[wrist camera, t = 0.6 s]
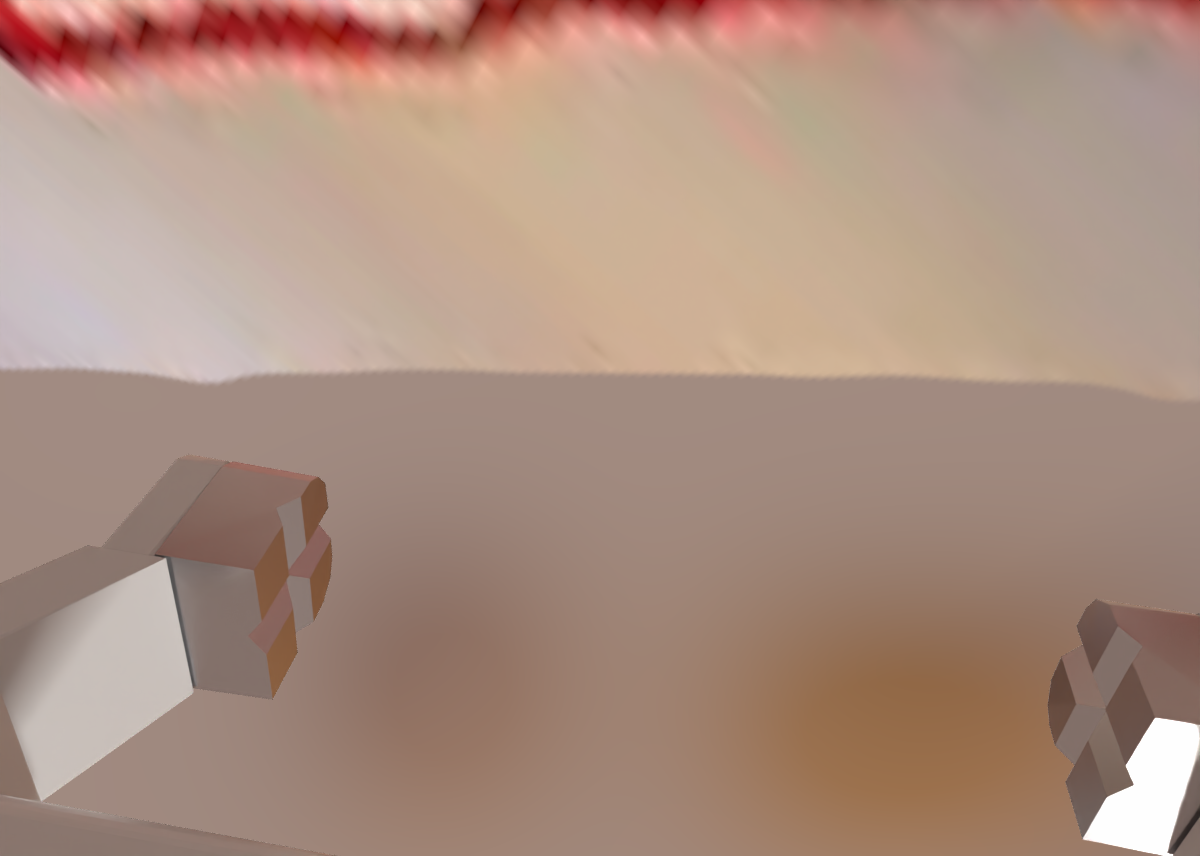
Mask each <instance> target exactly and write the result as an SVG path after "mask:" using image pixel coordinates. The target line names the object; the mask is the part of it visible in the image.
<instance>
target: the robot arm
mask: <svg viewBox="0 0 1200 856" xmlns="http://www.w3.org/2000/svg"><path fill="white" fill-rule="evenodd" d="M327 509H328V501H327V492H326V485H325V482H323V481H322V480H321V479H320V478H319V477H316V476H310V475H305V474H299V473H294V472H288V471H283V470H277V469H272V468H266V467H260V466H255V465H250V464H244V463H238V462H228V461H223V460H218V459H212V458H206V457H200V456H194V455H186V456H183V457H181V458H178V459H177V460H176V461H174V462H173V464H172V465H171V466H170V467H169V468H168V470H167V471H166V472H165V473H164V474H163V476H162V477H161V478H160V479H159V480H158V481H157V483H156V484H155V485H154V486H153V487H152V488H151V490H150V491H149V492H148V493H147V494H146V495H145V497H144V498H143V499H142V500H141V501H140V502H139V504H138V505H137V506H136V507H135V508H134V509H133V511H132V512H131V513H130V514H129V516H128V517H127V518H126V519H125V520H124V521H123V523H122V524H121V525H120V526H119V527H118V528H117V529H116V531H115V532H114V533H113V534H112V535H111V537H110V538H109V539H108V540H107V541H106V542H105V544H104V545H103V546H102V547H95V546H89V545H87V546H85V547H83V548H80V549H78V550H76V551H74V552H71V553H69V554H66V555H64V556H62V557H59V558H57V559H55V560H53V561H50V562H48V563H46V564H43V565H41V566H39V567H36V568H34V569H32V570H30V571H27V572H25V573H23V574H20V575H18V576H16V577H13V578H11V579H9V580H6V581H4V582H2V583H0V856H336V855H331V854H325V853H320V852H314V851H309V850H303V849H297V848H292V847H287V846H281V845H276V844H270V843H265V842H259V841H254V840H248V839H243V838H237V837H231V836H226V835H221V834H215V833H209V832H204V831H199V830H193V829H188V828H182V827H176V826H171V825H166V824H160V823H155V822H149V821H144V820H138V819H132V818H127V817H122V816H116V815H111V814H105V813H99V812H94V811H89V810H82V809H78V808H72V807H67V806H61V805H55V804H50V803H44V802H41V801H43V800H44V799H46V798H47V797H48V796H50V795H51V794H53V793H54V792H55V791H57V790H58V789H60V788H61V787H62V786H64V785H65V784H67V783H68V782H69V781H71V780H72V779H74V778H75V777H76V776H78V775H79V774H80V773H82V772H83V771H85V770H86V769H88V768H89V767H90V766H92V765H93V764H95V763H96V762H97V761H99V760H100V759H102V758H103V757H104V756H106V755H107V754H109V753H110V752H111V751H113V750H114V749H116V748H117V747H118V746H120V745H121V744H122V743H124V742H125V741H127V740H128V739H129V738H131V737H132V736H134V735H135V734H136V733H138V732H139V731H141V730H142V729H143V728H145V727H146V726H148V725H149V724H150V723H152V722H153V721H155V720H156V719H157V718H159V717H160V716H162V715H163V714H165V713H166V712H167V711H169V710H170V709H172V708H173V707H174V706H176V705H177V704H178V703H180V702H181V701H183V700H184V699H185V698H187V697H188V696H190V695H191V694H193V688H196V689H203V690H210V691H217V692H224V693H232V694H238V695H245V696H252V697H259V698H266V699H272V700H273V698H274V696H275V694H276V692H277V690H278V689H279V687H280V685H281V683H282V681H283V679H284V677H285V676H286V674H287V672H288V670H289V668H290V666H291V664H292V662H293V661H294V658H295V657H296V655H297V653H298V650H297V641H296V632H297V631H299V630H301V629H302V628H304V627H306V626H308V625H310V624H311V623H313V622H314V620H315V618H316V617H317V615H318V612H319V610H320V608H321V606H322V604H323V602H324V599H325V595H326V591H327V588H328V585H329V581H330V577H331V567H332V545H331V538H330V537H329V536H328V535H327V534H326V532H325V531H324V530H323V529H322V528H321V527H320V525H319V523H320V521H321V520H322V518H323V516H324V514H325V513H326V511H327ZM1077 629H1078V632H1079V635H1080V638H1081V641H1082V644H1083V645H1081V646H1079V647H1077V648H1076V649H1074V650H1072V651H1070V652H1069V653H1067V654H1065V655H1063V656H1062V657H1061V659H1060V661H1059V663H1058V666H1057V668H1056V670H1055V672H1054V675H1053V677H1052V679H1051V685H1050V692H1049V699H1048V714H1049V725H1050V729H1051V733H1052V736H1053V740H1054V744H1055V746H1056V747H1057V748H1058V749H1059V750H1060V751H1061V752H1062V753H1063V754H1064V755H1065V756H1066V757H1067V758H1068V759H1069V760H1070V761H1071V762H1072V763H1073V764H1074V767H1073V769H1072V771H1071V773H1070V775H1069V776H1068V778H1067V780H1066V785H1067V789H1068V792H1069V795H1070V799H1071V802H1072V805H1073V809H1074V812H1075V815H1076V819H1077V822H1078V826H1079V829H1080V832H1081V836H1082V839H1085V840H1090V841H1095V842H1100V843H1105V844H1110V845H1115V846H1120V847H1125V848H1130V849H1135V850H1140V851H1145V852H1150V853H1155V854H1160V855H1166V856H1200V613H1198V614H1191V613H1185V612H1179V611H1172V610H1165V609H1159V608H1152V607H1146V606H1139V605H1132V604H1125V603H1119V602H1112V601H1106V600H1099V599H1096V600H1094V601H1093V602H1092V603H1091V604H1090V605H1089V606H1088V607H1087V608H1086V609H1085V611H1084V613H1083V615H1082V617H1081V619H1080V621H1079V622H1078V624H1077Z"/></svg>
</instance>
